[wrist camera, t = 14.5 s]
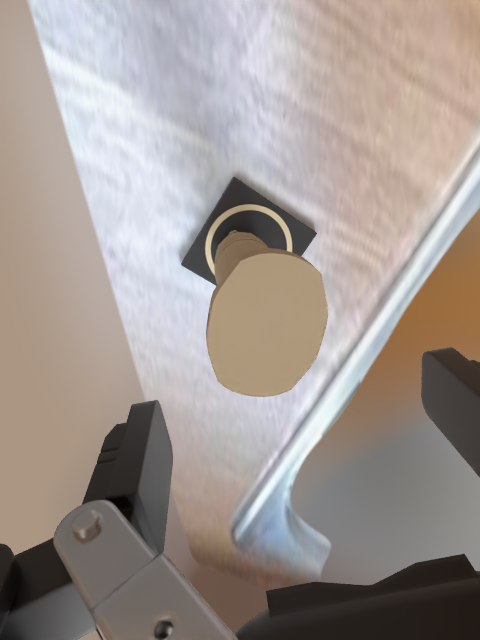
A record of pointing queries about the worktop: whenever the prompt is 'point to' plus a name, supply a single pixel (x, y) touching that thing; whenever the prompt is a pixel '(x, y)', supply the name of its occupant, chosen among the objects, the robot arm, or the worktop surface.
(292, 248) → the slate board
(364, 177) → the worktop surface
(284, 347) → the handle
